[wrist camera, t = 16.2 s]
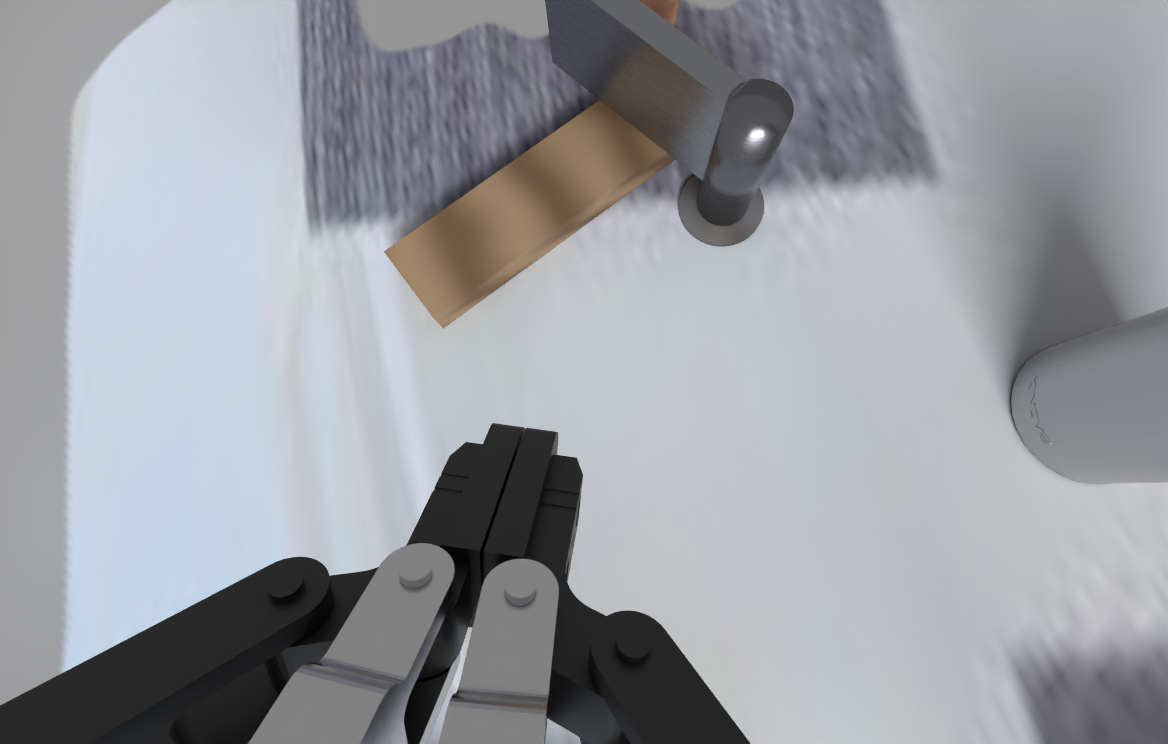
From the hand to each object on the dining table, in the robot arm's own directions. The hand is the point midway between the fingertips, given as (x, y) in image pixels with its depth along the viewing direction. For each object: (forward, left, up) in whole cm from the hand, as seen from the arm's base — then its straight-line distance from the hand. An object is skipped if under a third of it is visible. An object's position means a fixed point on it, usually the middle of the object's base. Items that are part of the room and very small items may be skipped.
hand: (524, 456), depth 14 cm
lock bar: (-6, -24, -25) cm, 35 cm away
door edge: (-1, -20, -26) cm, 32 cm away
